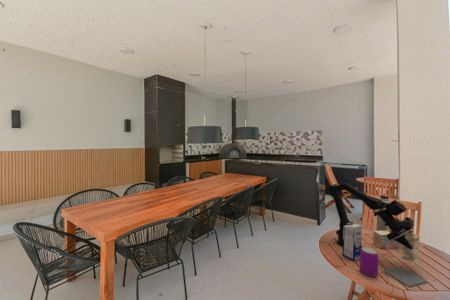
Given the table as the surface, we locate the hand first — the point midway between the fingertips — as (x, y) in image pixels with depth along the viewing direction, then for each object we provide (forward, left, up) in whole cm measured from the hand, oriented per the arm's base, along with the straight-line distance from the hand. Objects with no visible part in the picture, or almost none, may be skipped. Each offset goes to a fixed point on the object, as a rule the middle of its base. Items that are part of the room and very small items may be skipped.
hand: (413, 247), depth 106 cm
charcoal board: (-7, -1, -14) cm, 16 cm away
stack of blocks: (+19, +24, -14) cm, 33 cm away
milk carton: (-17, +21, -14) cm, 30 cm away
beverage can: (-21, +7, -14) cm, 26 cm away
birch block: (0, +1, -7) cm, 7 cm away
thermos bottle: (+31, +39, -14) cm, 51 cm away
